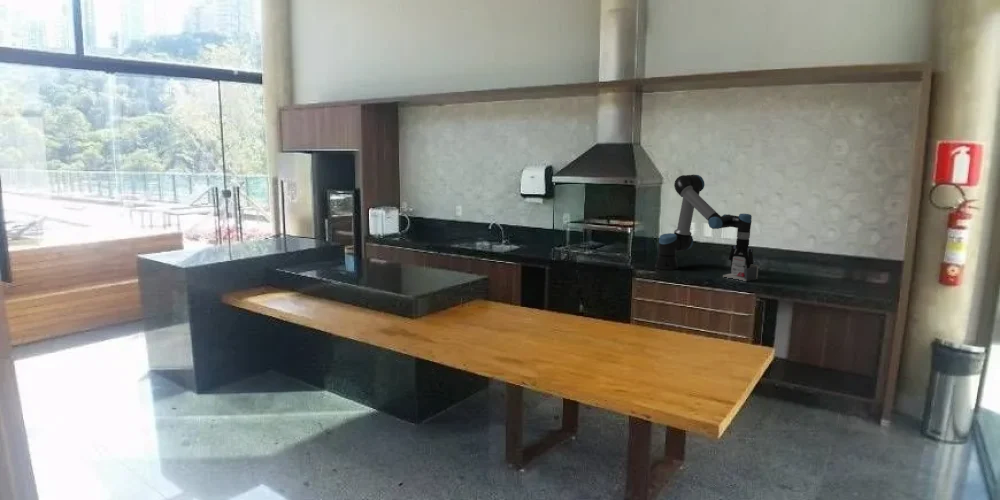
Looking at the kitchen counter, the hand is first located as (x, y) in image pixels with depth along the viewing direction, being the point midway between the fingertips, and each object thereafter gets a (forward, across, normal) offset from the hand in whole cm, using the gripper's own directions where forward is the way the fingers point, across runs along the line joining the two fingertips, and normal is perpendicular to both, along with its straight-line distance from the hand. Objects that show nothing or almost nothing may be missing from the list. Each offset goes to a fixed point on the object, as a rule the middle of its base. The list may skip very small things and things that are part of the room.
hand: (739, 272), depth 371 cm
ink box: (+2, 0, 0) cm, 2 cm away
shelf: (+4, 0, +1) cm, 4 cm away
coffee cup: (+4, -11, +16) cm, 20 cm away
